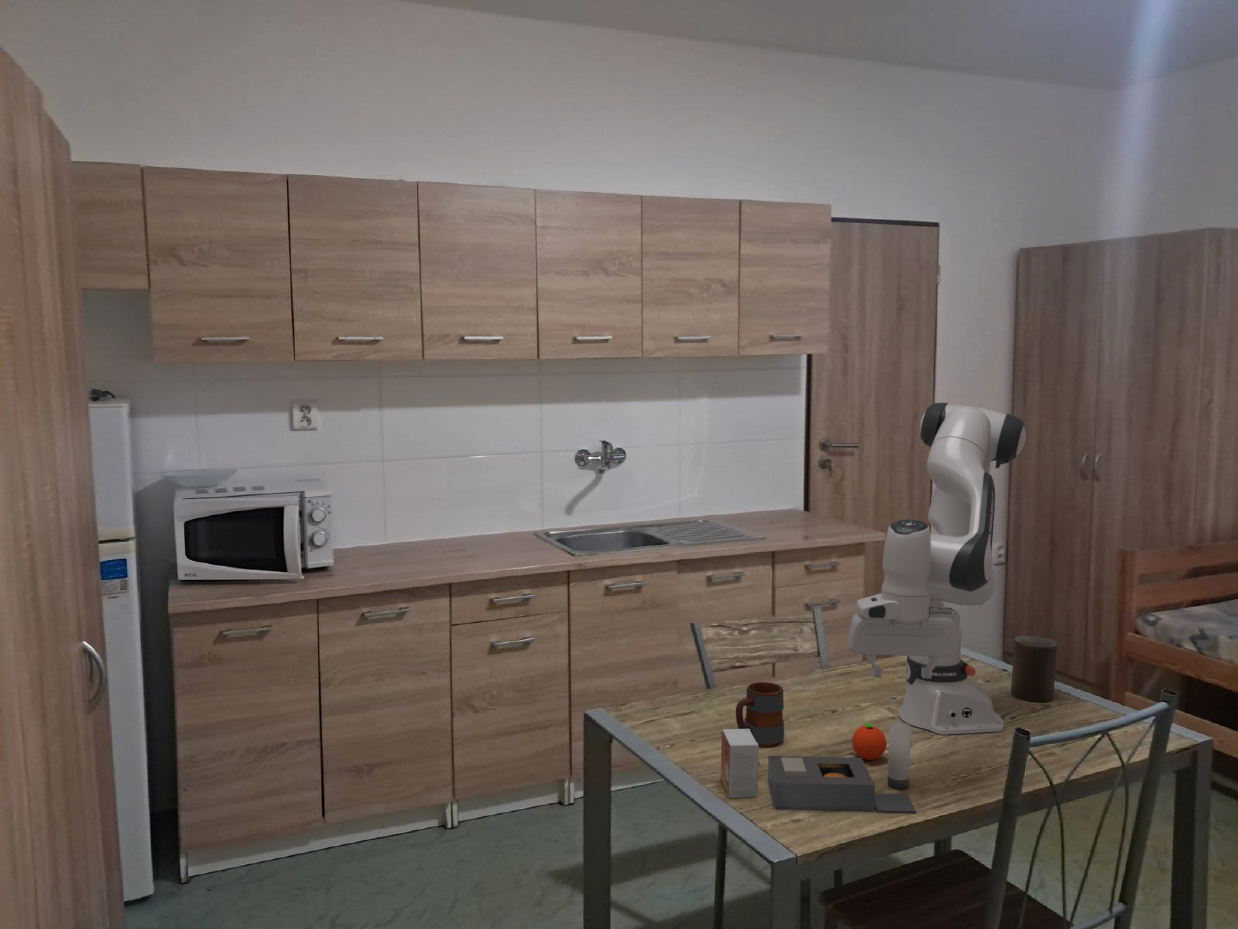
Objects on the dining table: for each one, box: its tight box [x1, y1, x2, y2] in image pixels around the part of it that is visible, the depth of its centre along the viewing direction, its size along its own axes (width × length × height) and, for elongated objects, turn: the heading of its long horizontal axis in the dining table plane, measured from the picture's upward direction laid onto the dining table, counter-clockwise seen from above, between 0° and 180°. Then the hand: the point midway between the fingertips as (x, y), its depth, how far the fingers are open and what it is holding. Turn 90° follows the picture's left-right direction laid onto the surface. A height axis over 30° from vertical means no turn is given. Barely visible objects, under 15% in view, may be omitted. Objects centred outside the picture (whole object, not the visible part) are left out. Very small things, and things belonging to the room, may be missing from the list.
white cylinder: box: [886, 721, 912, 791], centre depth 192 cm, size 4×4×12 cm
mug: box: [735, 681, 785, 748], centre depth 213 cm, size 9×12×12 cm
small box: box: [720, 728, 760, 799], centre depth 191 cm, size 8×6×10 cm
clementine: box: [851, 723, 888, 761], centre depth 206 cm, size 8×7×7 cm
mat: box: [874, 792, 917, 814], centre depth 185 cm, size 7×7×1 cm
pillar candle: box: [1010, 635, 1058, 704], centre depth 242 cm, size 10×10×15 cm
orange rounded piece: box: [824, 773, 846, 777], centre depth 188 cm, size 4×4×2 cm
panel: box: [767, 755, 876, 812], centre depth 188 cm, size 18×12×6 cm, turn 88°
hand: (901, 677), depth 191 cm, fingers open, 8 cm apart
